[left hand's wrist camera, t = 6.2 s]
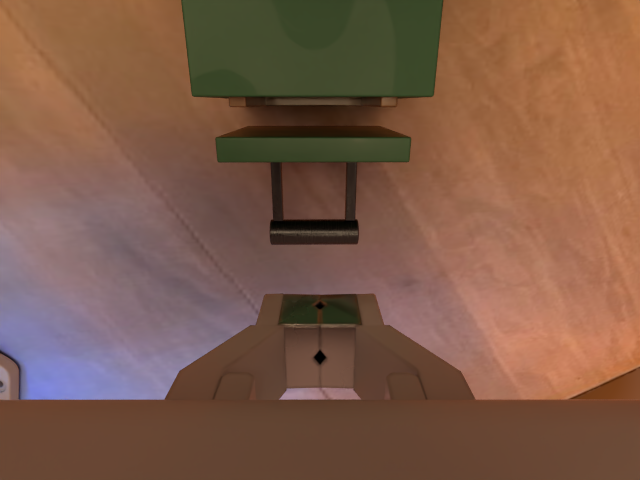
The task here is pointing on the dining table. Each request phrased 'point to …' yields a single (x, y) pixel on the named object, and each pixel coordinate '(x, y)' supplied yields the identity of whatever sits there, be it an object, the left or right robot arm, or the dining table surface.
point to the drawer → (313, 160)
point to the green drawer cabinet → (312, 47)
